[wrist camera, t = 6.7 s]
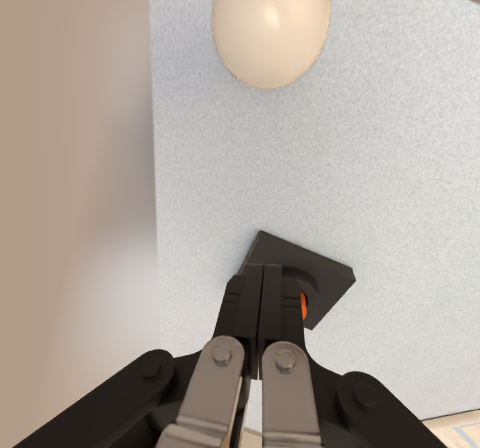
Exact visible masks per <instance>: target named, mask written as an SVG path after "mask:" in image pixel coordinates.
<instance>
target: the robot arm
mask: <svg viewBox="0 0 480 448" xmlns="http://www.w3.org/2000/svg"><path fill="white" fill-rule="evenodd" d="M258 367H259V380H262V448H448V447H447V446H446V445H445V444H444V443H443V442H442V441H441V440H440V439H439V438H438V437H437V436H436V435H434V434H433V433H432V432H431V431H430V430H429V429H428V428H427V427H426V426H425V425H424V424H423V423H422V422H421V421H420V420H419V419H418V418H417V417H416V416H415V415H414V414H413V413H412V412H411V411H410V410H409V409H408V408H407V407H406V406H404V405H403V404H402V403H401V402H400V401H399V400H398V399H397V398H396V397H395V396H394V395H393V394H392V393H391V392H390V391H389V390H388V389H387V388H386V387H385V386H384V385H383V384H382V383H381V382H379V381H378V380H377V379H376V378H374V377H373V376H371V375H369V374H366V373H363V372H358V371H353V372H348V373H346V374H344V375H343V376H342V375H339V374H337V373H335V372H332V371H330V370H328V369H326V368H324V367H322V366H320V365H319V364H317V363H316V362H315V361H314V360H313V359H312V358H311V356H310V355H309V354H308V352H307V349H306V346H305V339H304V326H303V314H302V301H301V288H300V286H299V284H298V283H297V281H296V279H295V278H286V277H282V265H272V264H265V270H264V264H249V263H247V265H246V270H245V275H234V276H233V277H232V278H231V279H230V280H229V282H228V283H227V286H226V290H225V295H224V297H223V301H222V304H221V308H220V312H219V315H218V319H217V323H216V327H215V330H214V334H213V337H212V339H211V340H210V341H209V342H207V344H206V345H205V346H204V347H203V349H202V350H200V351H198V352H196V353H194V354H190V355H186V356H181V357H177V358H173V357H172V355H171V354H170V353H169V352H167V351H165V350H161V349H156V350H152V351H148V352H146V353H145V354H143V355H141V356H140V357H138V358H137V359H136V360H134V361H133V362H132V363H130V364H129V365H127V366H126V367H124V368H123V369H122V370H120V371H119V372H117V373H116V374H115V375H113V376H112V377H110V378H109V379H108V380H106V381H105V382H104V383H102V384H101V385H99V386H98V387H96V388H95V389H94V390H92V391H91V392H89V393H88V394H87V395H85V396H84V397H82V398H81V399H80V400H78V401H77V402H76V403H74V404H73V405H71V406H70V407H68V408H67V409H66V410H65V411H63V412H62V413H60V414H59V415H57V416H56V417H54V418H53V419H52V420H50V421H49V422H47V423H46V424H45V425H43V426H42V427H41V428H39V429H38V430H36V431H35V432H34V433H32V434H31V435H29V436H28V437H27V438H25V439H24V440H22V441H21V442H20V443H18V444H17V445H15V446H14V447H13V448H240V446H241V440H242V434H243V429H244V423H245V417H246V412H247V406H248V399H249V392H250V383H251V379H254V380H257V379H258Z"/></svg>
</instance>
